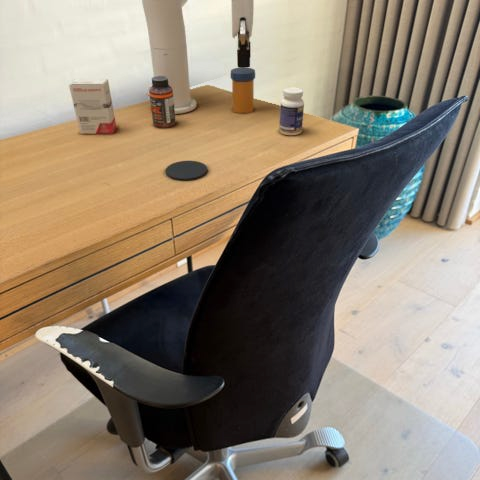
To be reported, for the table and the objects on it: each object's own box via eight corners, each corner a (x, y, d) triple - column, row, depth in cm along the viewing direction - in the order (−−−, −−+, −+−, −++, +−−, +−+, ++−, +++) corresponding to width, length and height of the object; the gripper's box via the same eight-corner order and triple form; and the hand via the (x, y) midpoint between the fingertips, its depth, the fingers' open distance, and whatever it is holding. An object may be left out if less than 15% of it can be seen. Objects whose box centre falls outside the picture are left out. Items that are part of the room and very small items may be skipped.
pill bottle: (300, 136, 117) (303, 94, 111) (277, 135, 118) (279, 92, 112) (302, 128, 122) (306, 86, 115) (280, 127, 123) (282, 85, 116)
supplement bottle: (148, 125, 124) (142, 79, 116) (162, 118, 128) (157, 73, 120) (166, 130, 122) (161, 82, 114) (180, 122, 125) (176, 76, 118)
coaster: (157, 174, 102) (157, 172, 102) (182, 159, 108) (182, 157, 108) (191, 184, 99) (190, 182, 98) (215, 168, 104) (215, 166, 104)
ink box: (117, 126, 124) (108, 77, 116) (113, 134, 120) (103, 83, 112) (84, 127, 124) (73, 78, 116) (79, 134, 120) (68, 84, 112)
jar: (228, 111, 132) (227, 73, 125) (239, 105, 136) (239, 68, 129) (246, 114, 130) (246, 77, 123) (257, 108, 133) (257, 71, 127)
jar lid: (226, 79, 126) (226, 71, 125) (239, 73, 130) (238, 66, 129) (247, 82, 124) (247, 75, 123) (259, 76, 128) (259, 69, 127)
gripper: (228, -24, 119) (231, 54, 131) (225, -14, 106) (228, 72, 118) (258, -25, 119) (258, 54, 131) (258, -15, 106) (258, 71, 118)
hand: (244, 62), depth 124 cm, fingers open, 7 cm apart
